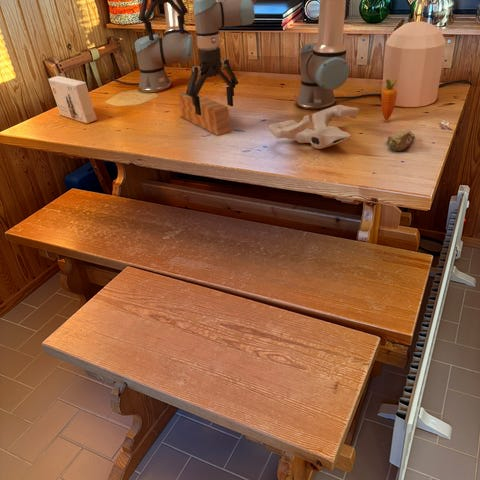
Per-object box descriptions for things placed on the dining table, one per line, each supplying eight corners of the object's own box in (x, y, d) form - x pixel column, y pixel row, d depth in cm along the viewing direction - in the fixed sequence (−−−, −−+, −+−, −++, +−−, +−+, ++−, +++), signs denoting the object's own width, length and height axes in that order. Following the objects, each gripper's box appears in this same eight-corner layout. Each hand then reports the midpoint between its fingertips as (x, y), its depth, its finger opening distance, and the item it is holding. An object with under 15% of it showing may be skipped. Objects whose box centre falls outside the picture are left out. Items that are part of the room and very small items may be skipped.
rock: (408, 140, 153) (379, 139, 152) (414, 122, 149) (384, 120, 148) (421, 154, 144) (391, 153, 143) (428, 135, 140) (396, 133, 139)
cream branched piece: (267, 156, 148) (265, 121, 142) (278, 128, 170) (277, 96, 163) (357, 157, 142) (360, 119, 136) (357, 127, 164) (359, 94, 157)
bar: (181, 116, 188) (177, 93, 182) (193, 113, 190) (190, 90, 185) (217, 135, 168) (214, 110, 163) (230, 131, 170) (227, 106, 165)
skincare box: (58, 115, 201) (47, 78, 192) (69, 111, 204) (58, 75, 195) (86, 124, 189) (75, 85, 180) (97, 119, 192) (87, 81, 183)
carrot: (394, 118, 167) (398, 76, 158) (393, 123, 163) (397, 80, 154) (379, 117, 168) (383, 75, 160) (378, 122, 165) (382, 80, 156)
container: (406, 111, 172) (416, 29, 156) (369, 96, 188) (375, 22, 172) (449, 99, 178) (463, 20, 162) (410, 86, 194) (419, 13, 178)
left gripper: (130, -20, 163) (142, 44, 175) (191, -29, 174) (198, 31, 186) (122, -21, 168) (134, 41, 180) (182, -30, 179) (189, 29, 191)
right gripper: (181, 56, 147) (189, 121, 159) (245, 42, 158) (248, 104, 170) (170, 52, 152) (179, 115, 164) (233, 39, 163) (237, 99, 175)
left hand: (167, 36), depth 183 cm, fingers open, 13 cm apart
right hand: (214, 109), depth 167 cm, fingers open, 13 cm apart
